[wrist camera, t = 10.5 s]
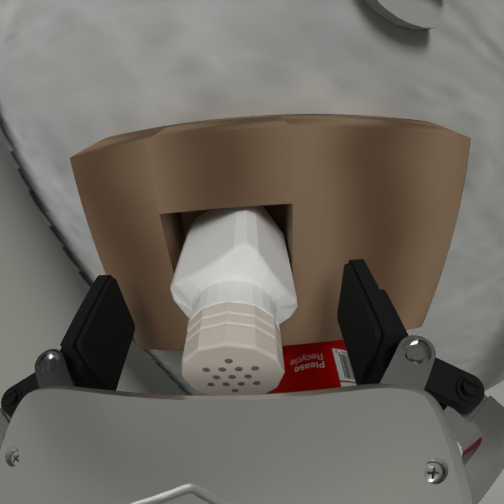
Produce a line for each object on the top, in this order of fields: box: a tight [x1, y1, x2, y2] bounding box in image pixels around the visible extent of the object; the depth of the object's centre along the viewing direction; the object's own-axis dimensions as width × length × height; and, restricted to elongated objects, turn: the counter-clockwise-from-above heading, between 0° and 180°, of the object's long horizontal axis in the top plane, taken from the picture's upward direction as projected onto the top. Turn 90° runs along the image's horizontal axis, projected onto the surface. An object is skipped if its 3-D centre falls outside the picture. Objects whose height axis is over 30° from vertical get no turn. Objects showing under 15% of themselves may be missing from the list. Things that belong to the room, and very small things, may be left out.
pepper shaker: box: [170, 205, 298, 396], centre depth 13 cm, size 4×4×10 cm
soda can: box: [266, 340, 356, 394], centre depth 18 cm, size 8×8×15 cm
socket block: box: [70, 114, 471, 350], centre depth 15 cm, size 18×12×4 cm, turn 94°
